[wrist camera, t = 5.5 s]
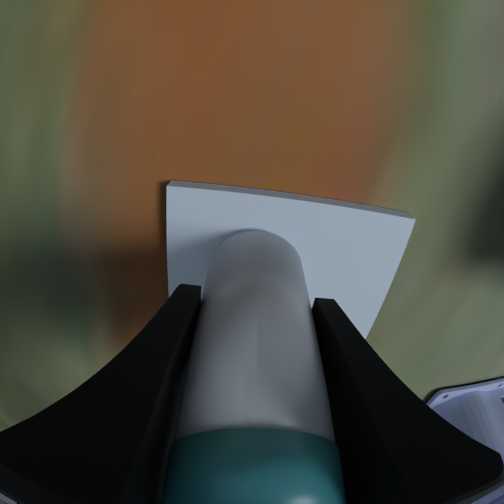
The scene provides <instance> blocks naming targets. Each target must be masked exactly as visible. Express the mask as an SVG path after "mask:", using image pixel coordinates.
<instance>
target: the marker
mask: <svg viewBox="0 0 504 504" xmlns="http://www.w3.org/2000/svg"><path fill="white" fill-rule="evenodd" d="M161 504H346V497H345V489H344V481H343V474H342V467H341V460H340V453H339V448H338V446H337V445H336V443H335V437H334V430H333V424H332V417H331V411H330V405H329V399H328V393H327V388H326V382H325V376H324V371H323V365H322V360H321V355H320V349H319V344H318V339H317V334H316V329H315V324H314V319H313V314H312V309H311V304H310V299H309V294H308V290H307V285H306V280H305V276H304V271H303V267H302V263H301V259H300V256H299V254H298V253H297V251H296V249H295V248H294V247H293V246H292V245H291V244H290V243H289V242H288V241H286V240H285V239H283V238H282V237H280V236H278V235H275V234H272V233H269V232H264V231H248V232H242V233H239V234H236V235H234V236H231V237H230V238H228V239H226V240H225V241H224V242H222V243H221V244H220V245H219V246H218V247H217V248H216V250H215V251H214V253H213V255H212V257H211V260H210V263H209V268H208V272H207V276H206V281H205V285H204V290H203V294H202V299H201V304H200V308H199V313H198V317H197V322H196V327H195V331H194V336H193V341H192V346H191V350H190V355H189V360H188V365H187V370H186V376H185V381H184V386H183V391H182V396H181V402H180V407H179V413H178V418H177V424H176V430H175V435H174V441H173V444H172V445H171V447H170V450H169V456H168V462H167V468H166V474H165V480H164V487H163V493H162V500H161Z"/></svg>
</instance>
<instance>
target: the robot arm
mask: <svg viewBox="0 0 504 504" xmlns="http://www.w3.org/2000/svg"><path fill="white" fill-rule="evenodd" d="M200 304H201V286H198V285H190V284H182V283H181V284H180V285H178V286H177V288H176V289H175V291H174V292H173V293H172V295H171V296H170V297H169V298H168V300H167V301H166V302H165V304H164V305H163V306H162V307H161V308H160V310H159V311H158V312H157V313H156V314H155V316H154V317H153V318H152V319H151V320H150V321H149V322H148V324H147V325H146V326H145V327H144V328H143V329H142V330H141V331H140V332H139V333H138V335H137V336H136V337H135V338H134V339H133V340H132V341H131V342H130V343H129V344H128V345H127V346H126V347H125V348H124V349H123V350H122V351H121V352H120V353H119V354H118V355H116V356H115V357H114V358H113V359H112V360H111V361H110V362H109V363H108V364H106V365H105V366H104V367H103V368H102V369H101V370H99V371H98V372H97V373H96V374H95V375H93V376H92V377H91V378H89V379H88V380H87V381H85V382H84V383H83V384H82V385H80V386H79V387H78V388H76V389H75V390H73V391H72V392H71V393H69V394H68V395H66V396H65V397H63V398H62V399H60V400H58V401H57V402H55V403H54V404H52V405H50V406H49V407H47V408H46V409H44V410H42V411H41V412H39V413H37V414H36V415H34V416H32V417H30V418H28V419H26V420H24V421H22V422H20V423H18V424H16V425H14V426H12V427H10V428H8V429H6V430H3V431H1V432H0V493H2V494H3V495H5V496H7V497H8V498H10V499H12V500H14V501H15V502H17V504H161V500H162V493H163V487H164V480H165V474H166V468H167V462H168V456H169V450H170V447H171V445H172V444H173V441H174V435H175V430H176V424H177V418H178V413H179V407H180V402H181V396H182V391H183V386H184V381H185V376H186V370H187V365H188V360H189V355H190V350H191V346H192V341H193V336H194V331H195V327H196V322H197V317H198V313H199V308H200ZM312 314H313V319H314V324H315V329H316V334H317V339H318V344H319V349H320V355H321V360H322V365H323V371H324V376H325V382H326V388H327V393H328V399H329V405H330V411H331V417H332V424H333V430H334V437H335V443H336V445H337V446H338V448H339V453H340V460H341V467H342V474H343V481H344V489H345V497H346V504H504V378H501V379H497V380H492V381H487V382H483V383H478V384H473V385H467V386H462V387H456V388H450V389H443V390H440V391H438V392H436V393H435V394H434V395H433V396H432V398H431V399H430V400H429V401H428V402H427V403H426V404H425V403H424V402H423V401H422V400H421V399H420V398H419V397H417V396H416V395H415V394H414V393H413V392H412V391H411V390H410V389H409V388H408V387H407V386H406V385H405V384H404V383H403V382H402V381H401V380H400V379H399V378H398V377H397V376H396V375H395V374H394V373H393V372H392V370H391V369H390V368H389V367H388V366H387V365H386V364H385V363H384V361H383V360H382V359H381V358H380V357H379V356H378V354H377V353H376V352H375V351H374V350H373V348H372V347H371V346H370V345H369V344H368V342H367V341H366V340H365V339H364V337H363V336H362V335H361V333H360V332H359V331H358V330H357V328H356V327H355V326H354V324H353V323H352V322H351V320H350V319H349V318H348V316H347V315H346V314H345V312H344V311H343V310H342V309H341V307H340V306H339V305H338V303H337V302H336V301H335V300H334V299H328V298H316V297H315V300H314V303H313V306H312ZM0 504H8V503H6V502H5V501H3V500H1V499H0Z"/></svg>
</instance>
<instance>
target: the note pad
mask: <svg viewBox="0 0 504 504" xmlns="http://www.w3.org/2000/svg"><path fill="white" fill-rule="evenodd" d="M166 220H167V269H168V292H169V297H170V296H171V295H172V293H173V292H174V291H175V289H176V288H177V286H178V285H180V284H181V283H182V284H190V285H198V286H201V299H202V294H203V290H204V285H205V281H206V276H207V272H208V268H209V263H210V260H211V257H212V255H213V253H214V251H215V250H216V248H217V247H218V246H219V245H220V244H221V243H222V242H224V241H225V240H226V239H228V238H230V237H231V236H234V235H236V234H239V233H242V232H248V231H264V232H269V233H272V234H275V235H278V236H280V237H282V238H283V239H285V240H286V241H288V242H289V243H290V244H291V245H292V246H293V247H294V248H295V249H296V251H297V253H298V254H299V256H300V259H301V263H302V267H303V271H304V276H305V280H306V285H307V290H308V294H309V299H310V304H311V309H312V306H313V303H314V300H315V297H316V298H328V299H334V300H335V301H336V302H337V303H338V305H339V306H340V307H341V309H342V310H343V311H344V312H345V314H346V315H347V316H348V318H349V319H350V320H351V322H352V323H353V324H354V326H355V327H356V328H357V330H358V331H359V332H360V333H361V335H362V336H363V337H364V339H366V337H367V335H368V333H369V331H370V329H371V327H372V325H373V323H374V321H375V319H376V317H377V314H378V312H379V310H380V308H381V306H382V304H383V301H384V299H385V297H386V295H387V292H388V290H389V288H390V285H391V283H392V281H393V278H394V276H395V273H396V271H397V268H398V266H399V263H400V261H401V258H402V256H403V253H404V251H405V248H406V245H407V243H408V240H409V237H410V234H411V232H412V229H413V226H414V223H415V220H416V219H415V218H414V217H413V216H412V215H411V214H410V213H407V212H402V211H397V210H392V209H386V208H381V207H375V206H370V205H364V204H358V203H352V202H346V201H340V200H334V199H328V198H321V197H314V196H307V195H301V194H293V193H286V192H278V191H271V190H263V189H254V188H246V187H237V186H227V185H218V184H207V183H196V182H185V181H173V180H171V181H170V182H169V184H168V185H167V205H166Z"/></svg>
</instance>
